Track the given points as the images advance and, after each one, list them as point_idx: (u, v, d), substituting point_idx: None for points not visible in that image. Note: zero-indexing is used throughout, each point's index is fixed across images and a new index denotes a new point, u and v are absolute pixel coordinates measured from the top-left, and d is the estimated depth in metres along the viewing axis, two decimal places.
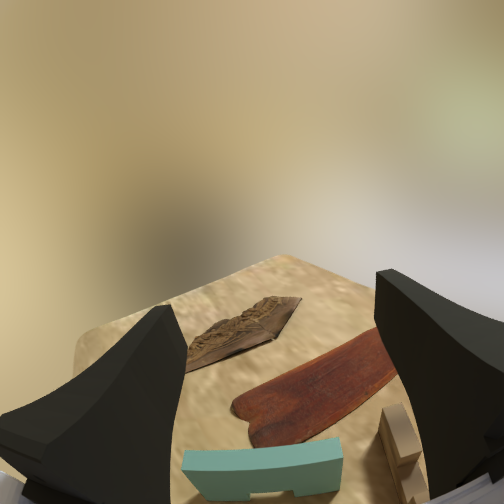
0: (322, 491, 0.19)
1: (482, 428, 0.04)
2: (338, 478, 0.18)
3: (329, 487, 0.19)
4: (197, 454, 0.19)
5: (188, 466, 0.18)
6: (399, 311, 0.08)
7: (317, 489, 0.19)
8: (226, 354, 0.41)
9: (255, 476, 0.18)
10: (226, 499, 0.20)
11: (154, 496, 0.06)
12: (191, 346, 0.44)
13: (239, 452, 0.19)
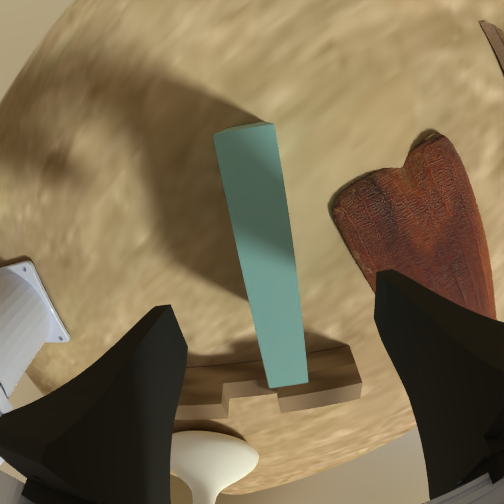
0: None
1: (482, 428, 0.04)
2: None
3: None
4: (267, 159, 0.09)
5: (226, 149, 0.09)
6: (399, 311, 0.08)
7: None
8: None
9: None
10: None
11: (154, 496, 0.06)
12: None
13: (285, 249, 0.11)
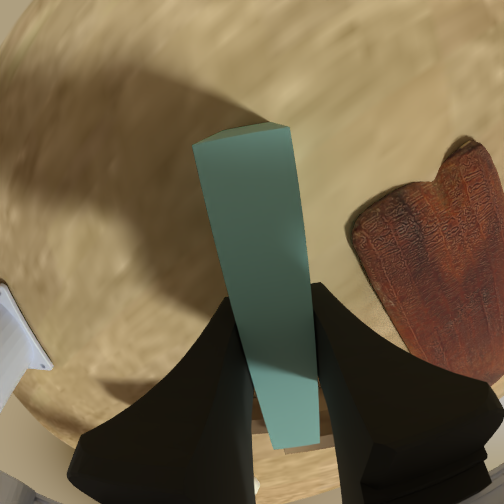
0: None
1: (359, 474, 0.04)
2: None
3: None
4: (278, 183, 0.06)
5: (214, 167, 0.06)
6: (315, 328, 0.08)
7: None
8: None
9: None
10: None
11: (248, 501, 0.05)
12: None
13: (301, 311, 0.08)
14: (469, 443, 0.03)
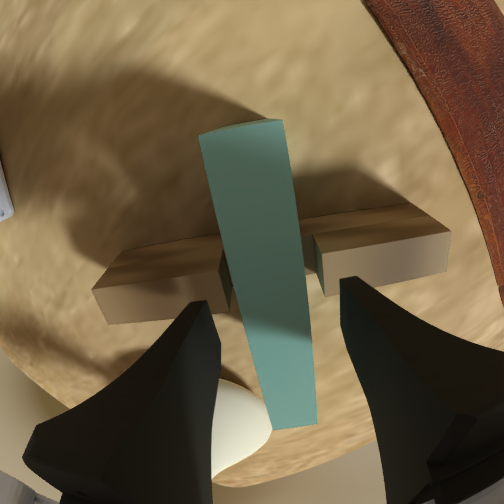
0: None
1: (425, 453, 0.04)
2: None
3: None
4: (272, 168, 0.07)
5: (217, 155, 0.07)
6: (357, 320, 0.08)
7: None
8: None
9: None
10: None
11: (200, 500, 0.05)
12: None
13: (296, 285, 0.08)
14: None
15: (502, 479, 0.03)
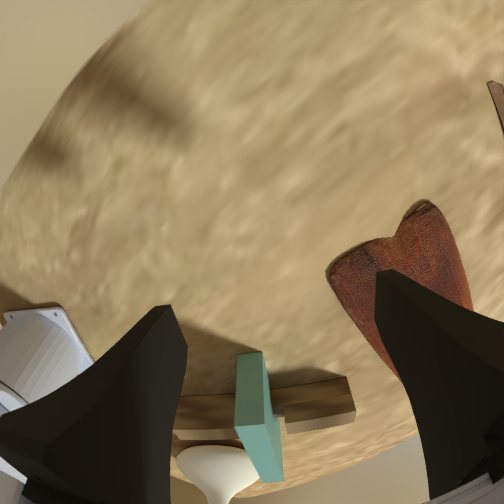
0: None
1: (482, 428, 0.04)
2: None
3: None
4: (260, 432, 0.18)
5: (241, 430, 0.17)
6: (399, 311, 0.08)
7: None
8: None
9: None
10: None
11: (154, 496, 0.06)
12: None
13: (269, 451, 0.19)
14: None
15: None
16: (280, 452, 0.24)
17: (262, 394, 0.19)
